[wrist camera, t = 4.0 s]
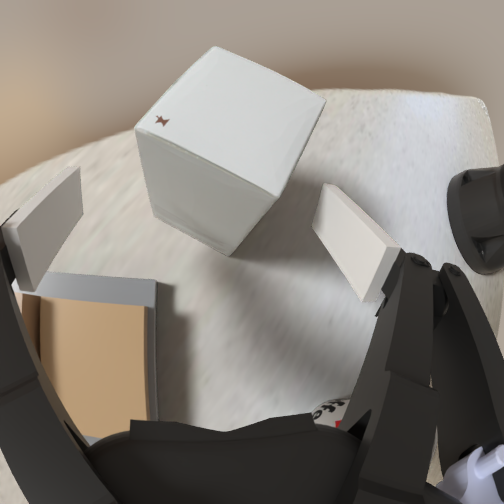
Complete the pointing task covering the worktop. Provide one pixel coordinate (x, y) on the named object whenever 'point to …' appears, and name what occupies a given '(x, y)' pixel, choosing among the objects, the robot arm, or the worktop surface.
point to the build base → (96, 347)
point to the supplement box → (224, 146)
